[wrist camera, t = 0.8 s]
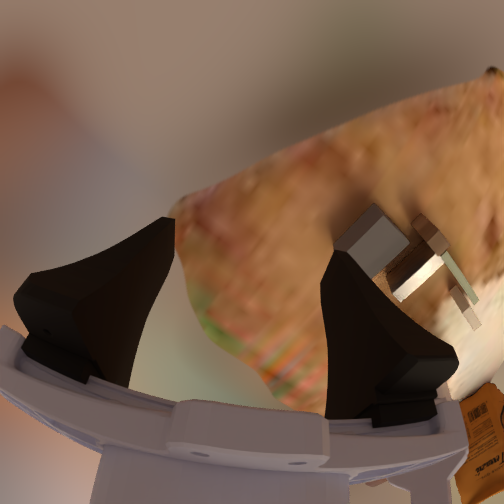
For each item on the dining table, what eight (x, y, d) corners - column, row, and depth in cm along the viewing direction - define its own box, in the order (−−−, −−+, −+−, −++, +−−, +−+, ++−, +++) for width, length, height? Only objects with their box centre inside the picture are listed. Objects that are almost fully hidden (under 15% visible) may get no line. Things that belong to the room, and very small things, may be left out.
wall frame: (469, 303, 25) (484, 327, 21) (458, 311, 26) (471, 336, 22) (423, 211, 23) (441, 228, 19) (409, 222, 24) (425, 240, 20)
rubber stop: (404, 235, 25) (417, 253, 21) (365, 273, 28) (370, 295, 24) (373, 202, 25) (383, 215, 21) (333, 243, 27) (334, 262, 23)
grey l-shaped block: (463, 279, 24) (479, 300, 20) (422, 315, 27) (432, 340, 23) (430, 233, 24) (446, 250, 20) (385, 276, 27) (394, 299, 23)
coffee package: (505, 389, 29) (530, 477, 9) (459, 424, 35) (470, 510, 15) (490, 375, 29) (520, 479, 9) (438, 415, 34) (449, 515, 15)
